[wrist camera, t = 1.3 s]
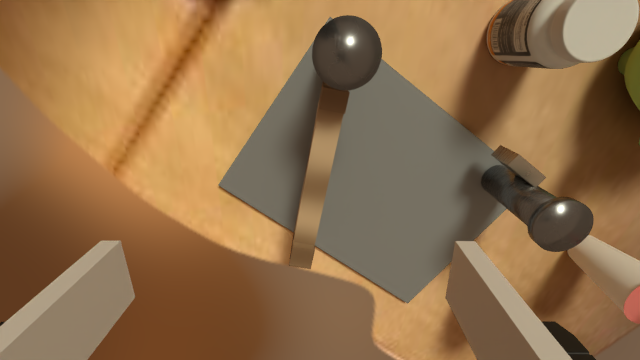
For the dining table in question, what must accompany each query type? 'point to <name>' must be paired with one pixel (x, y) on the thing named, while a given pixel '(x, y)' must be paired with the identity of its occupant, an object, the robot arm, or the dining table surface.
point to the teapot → (631, 72)
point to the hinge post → (346, 52)
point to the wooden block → (317, 173)
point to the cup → (611, 273)
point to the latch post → (536, 203)
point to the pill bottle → (560, 31)
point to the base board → (373, 177)
